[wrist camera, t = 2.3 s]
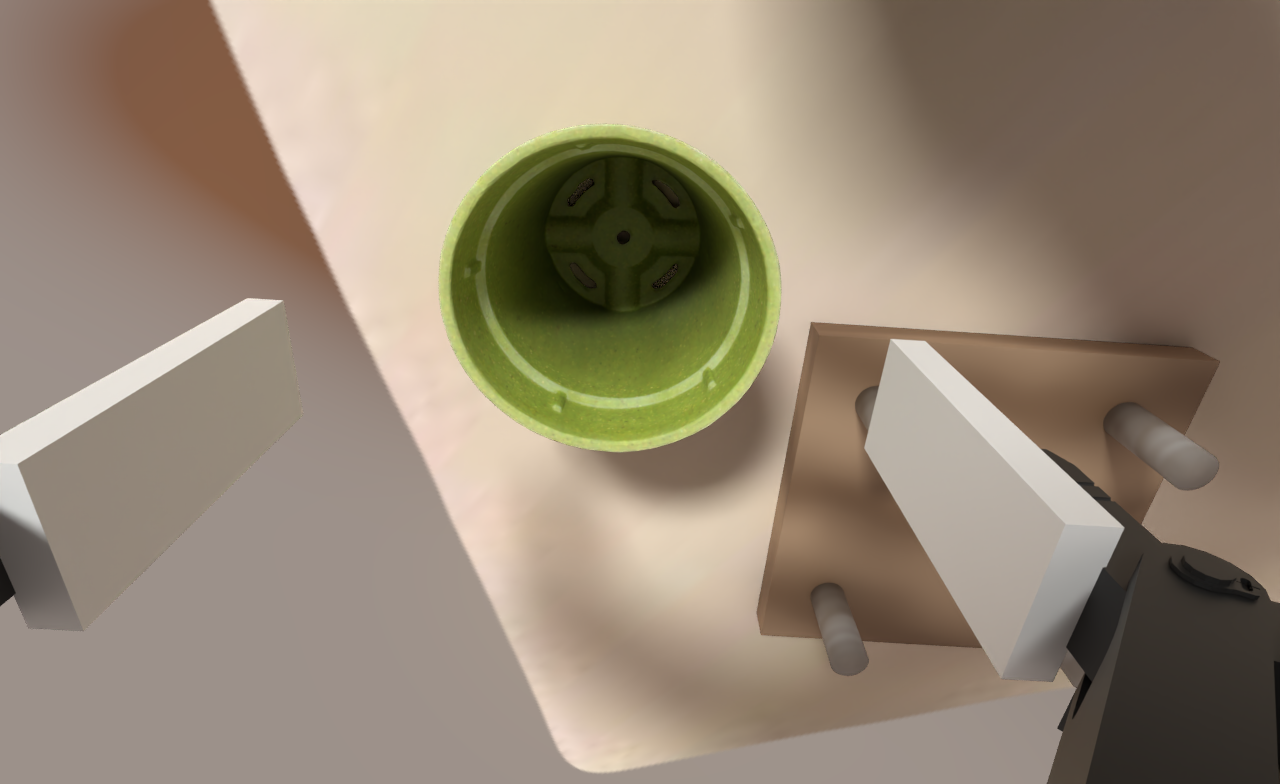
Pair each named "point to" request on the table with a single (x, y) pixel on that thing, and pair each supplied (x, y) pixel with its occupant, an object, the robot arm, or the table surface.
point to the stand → (870, 517)
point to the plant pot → (609, 288)
